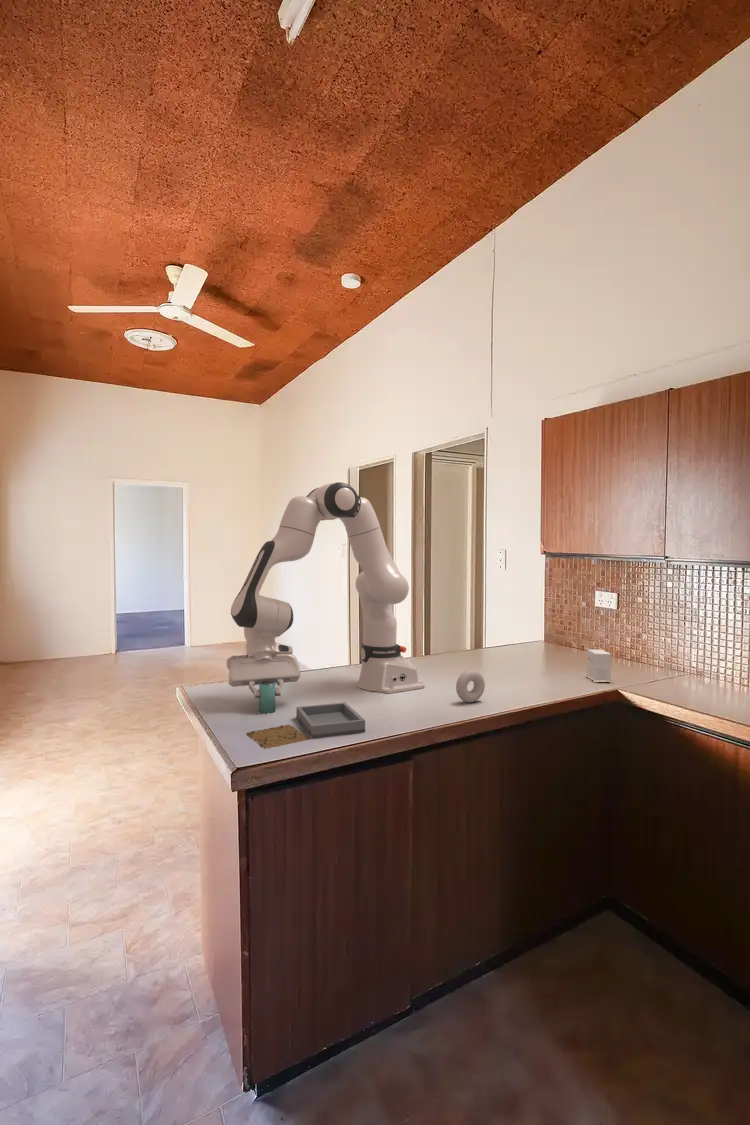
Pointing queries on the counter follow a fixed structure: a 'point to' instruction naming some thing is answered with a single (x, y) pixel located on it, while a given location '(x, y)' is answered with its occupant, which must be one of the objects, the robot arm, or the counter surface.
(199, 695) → the counter surface
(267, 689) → the cup
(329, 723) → the tray
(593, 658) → the small box
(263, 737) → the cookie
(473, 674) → the donut
